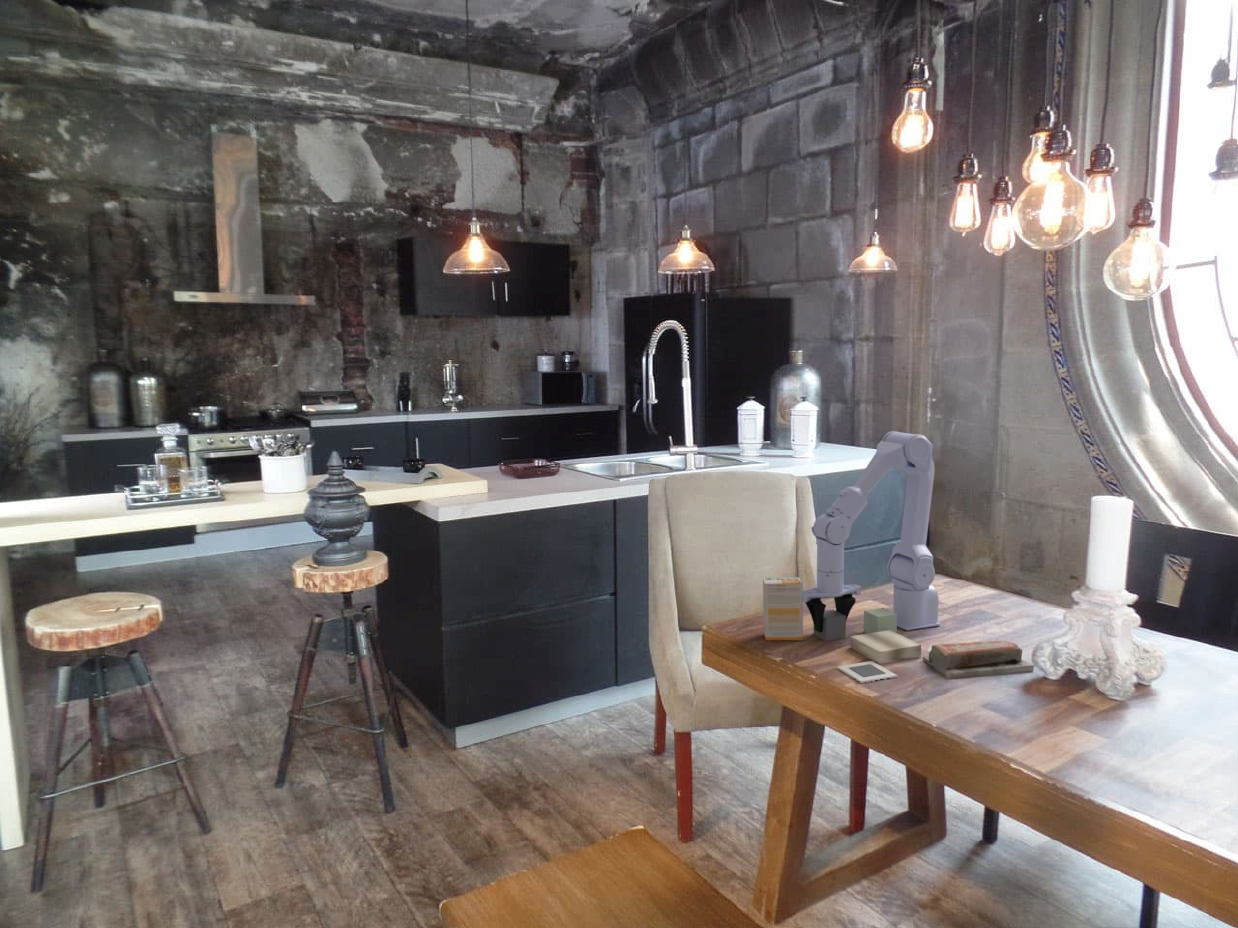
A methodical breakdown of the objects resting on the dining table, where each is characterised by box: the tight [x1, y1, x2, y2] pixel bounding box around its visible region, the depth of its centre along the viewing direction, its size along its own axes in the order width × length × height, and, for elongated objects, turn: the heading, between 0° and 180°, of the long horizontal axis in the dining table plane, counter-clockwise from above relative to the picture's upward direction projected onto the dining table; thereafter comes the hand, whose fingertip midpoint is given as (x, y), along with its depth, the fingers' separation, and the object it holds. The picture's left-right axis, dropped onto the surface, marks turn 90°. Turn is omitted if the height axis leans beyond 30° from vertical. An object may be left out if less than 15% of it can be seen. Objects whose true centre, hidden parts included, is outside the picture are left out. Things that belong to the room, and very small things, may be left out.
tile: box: [837, 660, 898, 684], centre depth 163 cm, size 8×8×1 cm
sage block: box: [863, 607, 898, 634], centre depth 185 cm, size 5×5×5 cm
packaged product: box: [922, 640, 1035, 679], centre depth 165 cm, size 18×5×10 cm
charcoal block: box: [813, 608, 847, 642], centre depth 184 cm, size 5×5×5 cm
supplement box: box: [762, 577, 804, 641], centre depth 183 cm, size 8×5×13 cm, turn 84°
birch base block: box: [849, 630, 922, 665], centre depth 174 cm, size 10×10×3 cm
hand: (829, 629), depth 184 cm, fingers closed on charcoal block, 5 cm apart
